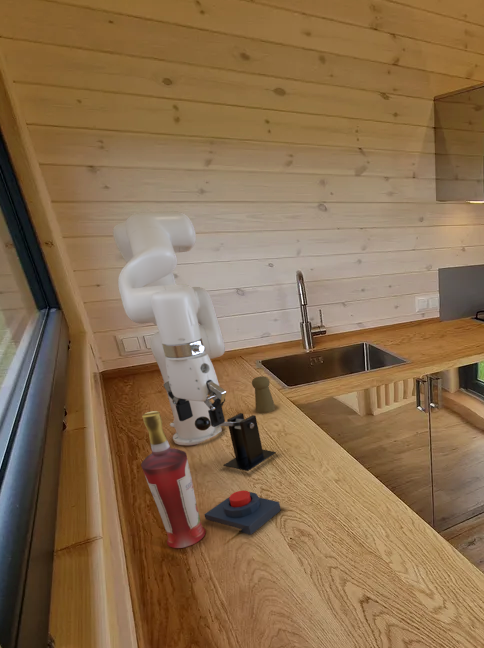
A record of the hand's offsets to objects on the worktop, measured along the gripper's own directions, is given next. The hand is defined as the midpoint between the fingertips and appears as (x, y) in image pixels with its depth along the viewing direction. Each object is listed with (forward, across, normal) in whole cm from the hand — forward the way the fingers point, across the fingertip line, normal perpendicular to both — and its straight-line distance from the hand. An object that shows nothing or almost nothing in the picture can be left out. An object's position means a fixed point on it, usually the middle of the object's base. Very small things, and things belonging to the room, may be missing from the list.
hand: (202, 421), depth 111 cm
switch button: (+13, -16, +8) cm, 22 cm away
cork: (+16, +21, -40) cm, 48 cm away
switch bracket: (+17, 0, -11) cm, 20 cm away
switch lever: (+5, 0, -5) cm, 7 cm away
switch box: (+17, -16, +8) cm, 24 cm away
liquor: (+17, -11, +18) cm, 27 cm away
